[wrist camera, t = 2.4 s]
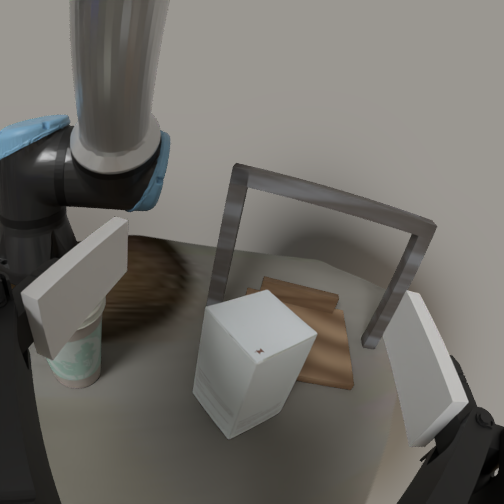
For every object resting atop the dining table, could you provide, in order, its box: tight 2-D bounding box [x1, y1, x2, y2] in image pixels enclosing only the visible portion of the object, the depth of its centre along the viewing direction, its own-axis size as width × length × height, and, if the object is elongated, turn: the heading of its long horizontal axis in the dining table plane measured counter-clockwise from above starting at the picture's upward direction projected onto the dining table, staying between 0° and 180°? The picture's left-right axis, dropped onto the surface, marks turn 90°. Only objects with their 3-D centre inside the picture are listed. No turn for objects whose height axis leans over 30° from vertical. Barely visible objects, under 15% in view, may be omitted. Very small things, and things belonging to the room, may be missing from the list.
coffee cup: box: [46, 297, 106, 389], centre depth 28 cm, size 8×8×12 cm
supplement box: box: [193, 290, 317, 439], centre depth 30 cm, size 7×7×13 cm
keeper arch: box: [206, 163, 437, 390], centre depth 40 cm, size 16×26×21 cm, turn 82°
